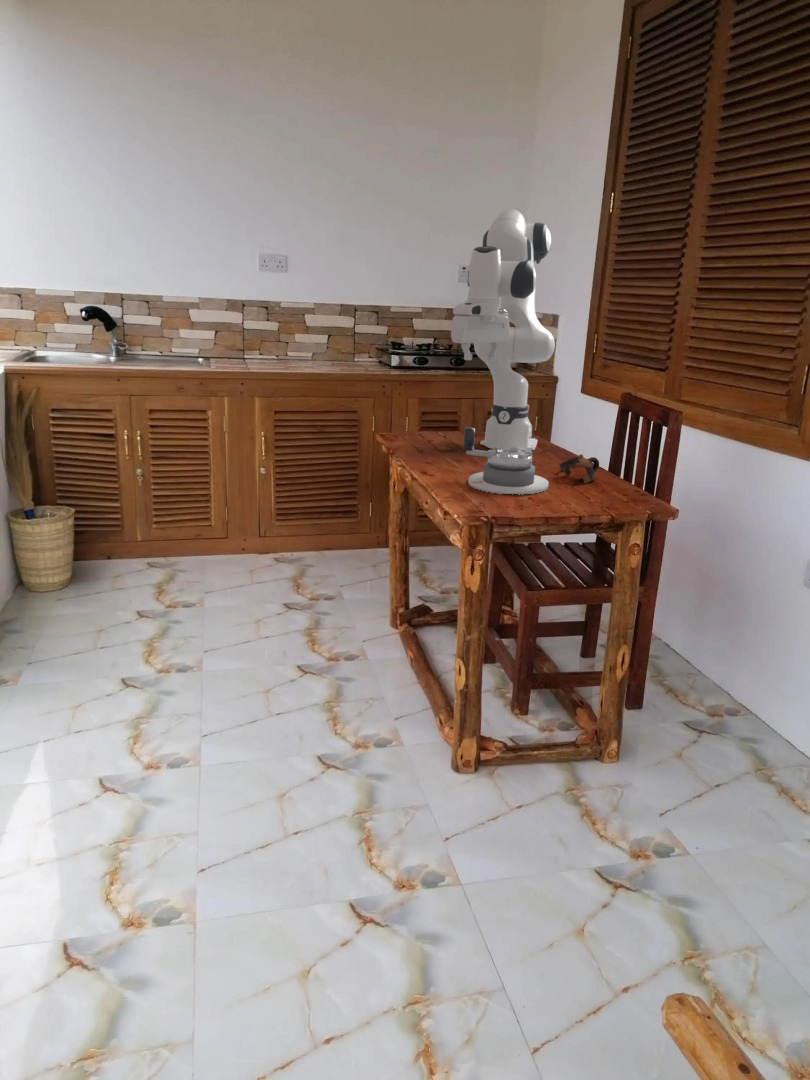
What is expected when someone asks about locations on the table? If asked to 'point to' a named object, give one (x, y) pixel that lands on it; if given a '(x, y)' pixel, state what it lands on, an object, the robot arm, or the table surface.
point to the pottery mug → (584, 463)
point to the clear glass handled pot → (499, 454)
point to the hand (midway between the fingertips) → (479, 359)
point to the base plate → (508, 490)
